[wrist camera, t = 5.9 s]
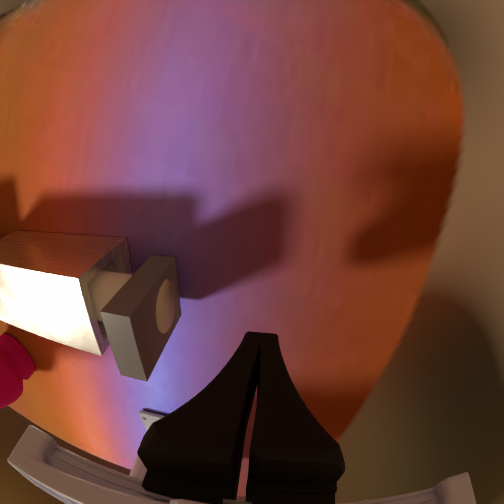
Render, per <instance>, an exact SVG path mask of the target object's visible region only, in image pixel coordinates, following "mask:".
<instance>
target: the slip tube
mask: <svg viewBox="0 0 504 504" xmlns="http://www.w3.org/2000/svg"><path fill="white" fill-rule="evenodd" d="M87 287H88V291H89V294H90V298H91V302H92V305H93V309H94V312H95V316H96V319H97V320H98V321H102V322H103V323H104V326H105V330H106V333H107V336H108V339H109V342H110V345H111V348H112V351H113V354H114V357H115V360H116V363H117V365H118V368H119V371H120V373H121V375H123V376H127V377H131V378H135V379H139V380H143V381H148V379H149V377H150V375H151V373H152V371H153V369H154V367H155V365H156V363H157V361H158V359H159V357H160V355H161V353H162V351H163V349H164V347H165V345H166V343H167V341H168V339H169V337H170V336H171V334H172V332H173V330H174V328H175V326H176V324H177V322H178V320H179V318H180V316H181V307H180V298H179V289H178V279H177V269H176V258H175V257H169V256H158V255H151V256H150V257H149V258H148V259H147V260H146V261H145V263H144V264H143V265H142V266H141V267H140V268H139V269H138V270H137V271H136V272H135V273H134V274H125V273H117V272H109V271H102V270H101V271H100V272H99V273H97V274H96V275H95V276H94V277H93V278H92V279H91V280H90V281H89V282H88V283H87Z"/></svg>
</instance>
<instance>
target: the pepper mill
mask: <svg viewBox="0 0 504 504" xmlns="http://www.w3.org/2000/svg"><path fill="white" fill-rule="evenodd" d="M34 371H35V365H34V362H33V360H32V359H31V357H30V355H29V354H28V352H27V351H26V350H25V348H24V347H23V346H22V345H21V344H20V343H19V342H18V341H17V340H16V339H15V338H14V337H12V336H11V335H9V334H6V333H5V334H2V335H1V336H0V409H1V408H3V407H5V406H7V405H10V404H11V403H13V402H14V401H16V400H17V399H18V398H19V397H20V395H21V394H22V392H23V379H24V380H27V379H29V377H30V376H31V375H32V374H33V373H34Z"/></svg>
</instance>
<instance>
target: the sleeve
mask: <svg viewBox="0 0 504 504" xmlns="http://www.w3.org/2000/svg"><path fill="white" fill-rule="evenodd" d="M101 270H102V271H109V272H117V273H125V274H132V269H131V263H130V256H129V249H128V242H127V238H125V237H111V236H96V235H80V234H65V233H49V232H33V231H17V230H15V231H13V232H11V233H10V234H8V235H6V236H4V237H3V238H1V239H0V320H2V321H4V322H6V323H9V324H11V325H14V326H16V327H18V328H21V329H23V330H26V331H28V332H31V333H34V334H36V335H39V336H42V337H44V338H47V339H50V340H53V341H56V342H59V343H62V344H65V345H68V346H71V347H74V348H77V349H80V350H83V351H87V352H90V353H94V354H97V355H101V356H102V355H103V354H104V352H105V351H106V349H107V348H108V346H109V345H110V342H109V339H108V336H107V333H106V330H105V326H104V323H103V322H102V321H98V320H97V319H96V316H95V312H94V309H93V305H92V302H91V298H90V294H89V291H88V287H87V283H88V282H89V281H90V280H91V279H92V278H93V277H94V276H95V275H96V274H97V273H99V272H100V271H101Z"/></svg>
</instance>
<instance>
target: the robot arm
mask: <svg viewBox="0 0 504 504" xmlns="http://www.w3.org/2000/svg"><path fill="white" fill-rule="evenodd" d="M256 388H257V409H256V416H255V422H254V428H253V434H252V440H251V446H250V456H249V470H248V479H247V486H246V502H245V501H237V500H236V497H237V490H238V483H239V477H240V470H241V463H242V456H243V449H244V442H245V435H246V429H247V424H248V420H249V416H250V412H251V408H252V404H253V400H254V396H255V392H256ZM139 415H140V418H141V420H142V422H143V424H144V426H145V428H146V431H147V432H146V433H145V435H144V437H143V439H142V441H141V444H140V447H139V449H138V452H137V453H138V455H137V458H136V460H135V463H134V465H133V468H132V470H131V473H130V475H126V474H123V473H120V472H117V471H115V470H112V469H109V468H107V467H104V466H102V465H99V464H97V463H94V462H92V461H90V460H88V459H85V458H83V457H81V456H78V455H77V454H74V453H72V452H70V451H68V450H66V449H64V448H62V447H60V446H58V445H57V444H56V442H55V441H54V440H53V439H52V438H51V437H50V436H49V435H48V434H46V433H45V432H43V431H41V430H39V429H37V428H36V427H34V426H32V425H29V426H28V428H27V429H26V431H25V432H24V434H23V435H22V437H21V438H20V440H19V442H18V443H17V445H16V447H15V448H14V450H13V451H12V453H11V454H10V456H9V458H8V462H9V463H10V464H11V465H12V466H13V467H14V468H15V469H17V470H18V471H19V472H20V473H21V474H22V475H23V476H25V477H26V478H27V479H28V480H30V481H31V482H32V483H33V484H35V485H36V486H37V487H39V488H41V489H42V490H44V491H45V492H47V493H49V494H50V495H52V496H54V497H55V498H57V499H59V500H60V501H62V502H64V503H65V504H335V492H336V491H337V481H338V480H339V478H340V477H341V476H342V475H343V473H344V471H345V463H344V458H343V455H342V451H341V449H340V446H339V444H338V443H337V442H336V441H335V440H334V439H333V438H332V437H331V436H330V435H329V434H328V433H327V432H326V431H325V429H324V428H323V427H322V426H321V425H320V424H319V423H318V421H317V420H316V419H315V417H314V416H313V415H312V413H311V412H310V411H309V409H308V408H307V407H306V405H305V404H304V402H303V400H302V399H301V397H300V395H299V394H298V392H297V390H296V388H295V386H294V384H293V382H292V380H291V378H290V376H289V374H288V371H287V369H286V366H285V363H284V361H283V358H282V354H281V351H280V347H279V341H278V336H277V335H276V334H271V333H260V332H249V331H248V332H247V333H246V334H245V336H244V338H243V340H242V342H241V344H240V345H239V347H238V349H237V350H236V352H235V353H234V355H233V356H232V357H231V359H230V360H229V362H228V363H227V364H226V365H225V367H224V368H223V369H222V370H221V371H220V373H219V374H218V375H217V376H216V377H215V378H214V379H213V380H212V381H211V382H210V383H209V384H208V385H207V386H206V387H205V388H204V389H203V390H202V391H201V392H199V393H198V394H197V395H196V396H195V397H193V398H192V399H191V400H190V401H188V402H187V403H185V404H184V405H182V406H181V407H179V408H178V409H176V410H175V411H173V412H172V413H170V414H168V415H166V416H163V415H159V414H155V413H151V412H147V411H143V410H141V411H140V412H139ZM337 504H476V502H475V497H474V493H473V489H472V485H471V482H470V478H469V474H468V472H465V473H462V474H459V475H456V476H453V477H450V478H447V479H445V480H443V481H441V482H440V483H438V484H437V485H436V486H435V487H433V488H430V489H426V490H422V491H418V492H413V493H409V494H404V495H399V496H394V497H388V498H382V499H376V500H368V501H359V502H350V503H337Z"/></svg>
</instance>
